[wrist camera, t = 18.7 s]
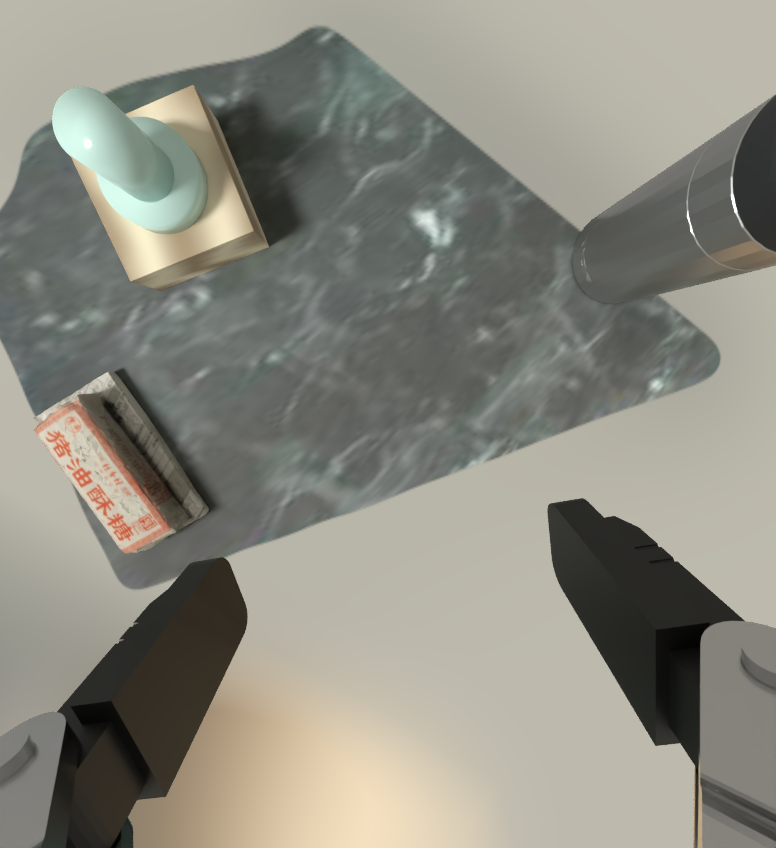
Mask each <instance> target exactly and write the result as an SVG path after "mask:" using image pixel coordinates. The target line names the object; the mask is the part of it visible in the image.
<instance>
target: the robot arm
mask: <svg viewBox="0 0 776 848" xmlns="http://www.w3.org/2000/svg"><path fill="white" fill-rule="evenodd" d="M775 265H776V95H774V96H773V97H771V98H770V99H768V100H767V101H765V102H764V103H762V104H761V105H759V106H758V107H757V108H755V109H754V110H752V111H751V112H749V113H748V114H746V115H745V116H743V117H742V118H740V119H739V120H737V121H736V122H735V123H733V124H731V125H730V126H729V127H727V128H726V129H725V130H723V131H722V132H720V133H719V134H717V135H716V136H714V137H713V138H711V139H710V140H708V141H707V142H705V143H704V144H703V145H701V146H700V147H698V148H697V149H695V150H694V151H692V152H691V153H689V154H688V155H686V156H685V157H683V158H682V159H680V160H679V161H677V162H676V163H675V164H673V165H672V166H670V167H669V168H667V169H666V170H664V171H663V172H661V173H660V174H658V175H657V176H655V177H654V178H652V179H651V180H649V181H648V182H647V183H645V184H643V185H642V186H641V187H639V188H638V189H636V190H635V191H633V192H632V193H630V194H629V195H627V196H626V197H624V198H623V199H621V200H620V201H618V202H617V203H615V204H614V205H612V206H611V207H610V208H608V209H607V210H605V211H604V212H602V213H601V214H599V215H598V216H597V217H595V218H594V219H592V220H591V221H590V222H589V223H588V224H587V225H586V226H585V227H584V229H583V230H582V232H581V233H580V235H579V236H578V239H577V241H576V244H575V246H574V251H573V271H574V276H575V278H576V280H577V282H578V285H579V286H580V287H581V289H582V290H583V291H584V292H585V293H586V294H587V295H588V296H589V297H590V298H592V299H594V300H596V301H598V302H602V303H606V304H619V303H624V302H629V301H633V300H637V299H641V298H645V297H650V296H654V295H658V294H662V293H666V292H670V291H674V290H678V289H682V288H686V287H691V286H694V285H699V284H703V283H707V282H711V281H715V280H719V279H723V278H727V277H731V276H735V275H739V274H743V273H748V272H752V271H755V270H760V269H762V268H767V267H771V266H775ZM548 522H549V533H550V543H551V554H552V562H553V567H554V571H555V574H556V577H557V580H558V582H559V584H560V586H561V588H562V590H563V592H564V593H565V595H566V597H567V598H568V600H569V602H570V603H571V605H572V606H573V608H574V610H575V612H576V613H577V615H578V617H579V618H580V620H581V622H582V623H583V625H584V627H585V628H586V630H587V632H588V633H589V635H590V637H591V639H592V640H593V642H594V643H595V645H596V647H597V649H598V650H599V652H600V654H601V655H602V657H603V658H604V660H605V662H606V664H607V665H608V667H609V669H610V670H611V672H612V674H613V675H614V677H615V678H616V680H617V682H618V684H619V685H620V687H621V689H622V690H623V692H624V694H625V695H626V697H627V699H628V700H629V702H630V704H631V706H632V707H633V708H634V711H635V712H636V714H637V716H638V717H639V719H640V721H641V722H642V724H643V726H644V727H645V729H646V731H647V732H648V734H649V735H650V737H651V739H652V741H653V742H654V744H655V745H656V746H658V745H667V744H676V743H681V745H682V746H683V748H684V749H685V751H686V752H687V754H688V756H689V757H690V759H691V760H692V762H693V763H694V765H695V776H694V777H695V779H694V848H776V628H772V627H769V626H766V625H762V624H757V623H753V622H745V621H744V620H743V619H742V618H741V617H740V616H738V615H737V614H736V613H735V612H734V611H733V610H732V609H731V608H730V607H728V606H727V605H726V604H725V603H724V602H723V601H722V600H720V599H719V598H718V597H717V596H716V595H715V594H714V593H713V592H711V591H710V590H709V589H708V588H707V587H706V586H705V585H703V584H702V583H701V582H700V581H699V580H698V579H697V578H695V577H694V576H693V575H692V574H691V573H690V572H689V571H688V570H686V569H685V568H684V567H683V566H682V565H681V564H680V563H679V562H675V561H674V559H673V557H672V556H671V555H670V554H668V553H667V552H666V551H665V550H664V549H663V548H662V547H658V545H657V543H656V542H655V541H654V540H653V539H651V538H650V537H649V536H648V535H647V534H646V533H644V532H643V531H642V530H641V529H640V528H639V527H637V526H635V525H632V524H630V523H628V522H626V521H624V520H622V519H620V518H618V517H616V516H612V517H606V518H604V517H603V516H602V515H601V514H600V513H599V512H598V511H596V509H595V508H594V507H593V506H592V505H591V504H589V502H588V501H586V500H585V499H583V498H581V499H575V500H569V501H563V502H558V503H551V504H549V505H548ZM246 626H247V608H246V605H245V602H244V599H243V597H242V594H241V592H240V589H239V586H238V584H237V581H236V579H235V576H234V573H233V571H232V569H231V566H230V564H229V562H228V561H227V560H226V559H225V558H216V559H210V560H204V561H198V562H193V563H191V564H189V565H188V566H187V567H186V569H185V570H184V571H183V572H182V573H181V575H180V576H179V577H178V578H177V579H176V581H175V582H174V583H173V584H172V585H171V587H170V588H169V589H168V590H166V591H165V592H164V593H163V594H161V595H160V596H159V597H158V598H157V599H155V600H154V601H153V602H151V603H150V604H149V605H148V607H147V608H146V609H145V610H144V611H143V612H142V613H141V615H140V616H139V617H138V618H137V619H136V621H135V622H134V625H133V627H130V628H129V629H128V630H127V631H126V632H125V633H124V634H123V636H122V637H121V638H120V639H119V643H118V644H115V645H114V646H113V647H112V648H111V650H110V651H109V652H108V653H107V654H106V655H105V657H104V658H103V659H102V660H101V661H100V662H99V664H98V665H97V666H96V667H95V668H94V670H93V671H92V672H91V673H90V674H89V675H88V676H87V678H86V679H85V680H84V681H83V682H82V684H81V685H80V686H79V687H78V688H77V689H76V690H75V692H74V693H73V694H72V695H71V696H70V698H69V699H68V700H67V701H66V702H65V703H64V704H63V706H62V707H61V708H60V709H59V710H58V711H57V712H49V713H44V714H41V715H38V716H36V717H33V718H31V719H29V720H27V721H25V722H23V723H21V724H19V725H18V726H16V727H14V728H13V729H11V730H10V731H8V732H7V733H5V734H4V735H2V736H1V737H0V848H133V826H132V824H131V822H130V820H129V818H128V815H129V814H130V812H131V810H132V808H133V806H134V804H135V802H136V801H137V800H139V799H148V798H158V797H166V795H167V793H168V791H169V789H170V787H171V785H172V782H173V781H174V779H175V777H176V774H177V772H178V770H179V768H180V766H181V764H182V762H183V759H184V758H185V756H186V753H187V751H188V750H189V747H190V745H191V743H192V741H193V739H194V737H195V735H196V733H197V731H198V729H199V727H200V724H201V722H202V720H203V718H204V716H205V714H206V712H207V710H208V708H209V706H210V704H211V702H212V700H213V698H214V696H215V693H216V691H217V689H218V687H219V685H220V683H221V681H222V679H223V677H224V675H225V672H226V670H227V668H228V666H229V664H230V662H231V660H232V658H233V656H234V654H235V652H236V650H237V648H238V646H239V644H240V641H241V639H242V637H243V635H244V633H245V630H246Z"/></svg>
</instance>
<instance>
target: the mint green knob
mask: <svg viewBox="0 0 776 848" xmlns="http://www.w3.org/2000/svg"><path fill="white" fill-rule="evenodd" d="M52 122H53V129H54V133H55V136H56V138H57V140H58V142H59V144H60V145H61V146H62V148H63V149H64V150H65V151H66V152H67V153H68V154H69V155H70V156H71V157H73V158H74V159H76V160H77V161H79V162H81V163H82V164H84V165H85V166H87V167H88V168H90V169H91V170H93V171H94V172H96V175H97V180H98V183H99V186H100V189H101V191H102V193H103V195H104V197H105V198H106V200H107V201H108V203H109V204H110V205H111V206H112V207H113V209H114V210H115V211H117V212H118V213H119V214H120V215H121V216H123V217H124V218H126V219H127V220H129V221H131V222H133V223H135V224H137V225H138V226H140V227H142V228H144V229H146V230H148V231H151V232H153V233H158V234H175V233H179V232H182V231H184V230H186V229H188V228H189V227H191V226H192V225H193V224H194V223H195V222H196V221H197V220H198V219H199V218H200V216H201V215H202V213H203V211H204V209H205V206H206V203H207V199H208V180H207V176H206V172H205V169H204V167H203V164H202V162H201V160H200V159H199V157H198V156H197V154H196V153H195V152H194V151H193V150H192V148H191V147H190V146H189V145H188V144H187V143H186V142H185V141H184V139H183V138H182V137H181V136H180V135H179V134H178V133H177V132H176V131H175V130H174V129H172V128H171V127H170V126H168V125H167V124H165V123H163V122H161V121H159V120H156V119H153V118H149V117H131V118H128V117H127V116H126V115H125V114H124V113H123V112H122V111H121V110H120V109H119V108H118V107H117V106H116V105H115V104H114V103H113V102H112V101H111V100H110V99H109V98H108V97H106V96H105V95H104V94H103V93H101V92H99V91H97V90H95V89H93V88H89V87H76V88H72V89H70V90H68V91H66V92H65V93H63V94H62V95H61V96H60V98H59V99H58V100H57V102H56V104H55V107H54V110H53V117H52Z"/></svg>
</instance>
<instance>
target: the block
mask: <svg viewBox="0 0 776 848" xmlns="http://www.w3.org/2000/svg"><path fill="white" fill-rule="evenodd" d="M125 115H126V116H127V117H128V118H131V117H149V118H153V119H156V120H159V121H161V122H163V123H165V124H167V125H168V126H170V127H171V128H172V129H174V130H175V131H176V132H177V133H178V134H179V135H180V136H181V137H182V138H183V139H184V141H185V142H186V143H187V144H188V145H189V146H190V147H191V148H192V150H193V151H194V152H195V153H196V154H197V156H198V157H199V159H200V160H201V162H202V164H203V167H204V169H205V172H206V176H207V180H208V199H207V203H206V206H205V209H204V211H203V213H202V215H201V216H200V218H199V219H198V220H197V221H196V222H195V223H194V224H193V225H192V226H191V227H189V228H188V229H186V230H184V231H182V232H179V233H175V234H158V233H153V232H151V231H148V230H146V229H144V228H142V227H140V226H138V225H137V224H135V223H133V222H131V221H129V220H127V219H126V218H124V217H123V216H121V215H120V214H119V213H118V212H117V211H115V210H114V209H113V207H112V206H111V205H110V204H109V203H108V201H107V200H106V198H105V197H104V195H103V193H102V191H101V189H100V186H99V183H98V180H97V175H96V172H94V171H93V170H91V169H90V168H88V167H87V166H85V165H84V164H82V163H81V162H79V161H77V160H76V159H74V158H73V157H71V158H72V160H73V162H74V164H75V166H76V168H77V170H78V172H79V174H80V177H81V179H82V181H83V183H84V185H85V187H86V189H87V191H88V193H89V195H90V197H91V199H92V202H93V204H94V206H95V208H96V210H97V212H98V214H99V216H100V218H101V220H102V222H103V224H104V227H105V229H106V231H107V233H108V235H109V237H110V239H111V241H112V243H113V245H114V247H115V249H116V252H117V254H118V256H119V258H120V260H121V262H122V264H123V266H124V268H125V270H126V272H127V274H128V277H129V279H130V281H131V282H134V283H138V284H141V285H144V286H147V287H150V288H153V289H156V290H159V291H162V290H164V289H167V288H169V287H172V286H174V285H177V284H179V283H182V282H184V281H186V280H189V279H191V278H194V277H196V276H199V275H201V274H204V273H206V272H209V271H211V270H213V269H216V268H218V267H221V266H223V265H226V264H228V263H231V262H233V261H236V260H238V259H241V258H243V257H245V256H248V255H250V254H253V253H255V252H258V251H260V250H263V249H265V248H268V247H269V245H268V242H267V240H266V238H265V235H264V233H263V230H262V228H261V225H260V223H259V220H258V218H257V216H256V213H255V211H254V208H253V206H252V203H251V201H250V198H249V196H248V194H247V191H246V189H245V186H244V184H243V181H242V179H241V176H240V174H239V172H238V169H237V167H236V164H235V162H234V159H233V157H232V154H231V152H230V150H229V147H228V145H227V142H226V140H225V137H224V135H223V132H222V130H221V128H220V125H219V123H218V120H217V119H216V117H215V116H214V115H213V113H212V112H211V110H210V109H209V107H208V106H207V104H206V103H205V101H204V100H203V98H202V97H201V95H200V94H199V92H198V91H197V89H196V88H195V87H194V85H192V86H189V87H187V88H185V89H183V90H180V91H178V92H176V93H173V94H171V95H169V96H166V97H164V98H162V99H159V100H157V101H155V102H152V103H150V104H148V105H145V106H143V107H141V108H139V109H136V110H134V111H132V112H129V113H127V114H125Z"/></svg>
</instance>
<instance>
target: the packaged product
mask: <svg viewBox="0 0 776 848" xmlns="http://www.w3.org/2000/svg"><path fill="white" fill-rule="evenodd" d="M34 419H35V420H36V421H37V422H38V423H39V424H38V425H37V427H36V428H35V429H34V430H35V432H36V434H37V435H38V437H39V438H40V439H41V441H42V443H43V444H44V445H45V447H46V448H47V449H48V451H49V452H50V454H51V455H52V456H53V458H54V459H55V460H56V462H57V463H58V465H59V466H60V467H61V469H62V470H63V471H64V472H65V474H66V475H67V476H68V478H69V479H70V481H71V482H72V483H73V485H74V486H75V487H76V489H77V490H78V491H79V493H80V494H81V495H82V497H83V498H84V500H85V501H86V502H87V504H88V505H89V507H90V508H91V509H92V510H93V512H94V513H95V515H96V516H97V517H98V519H99V520H100V521H101V523H102V524H103V526H104V527H105V528H106V529H107V531H108V533H109V534H110V535H111V537H112V538H113V540H114V541H115V542H116V544H117V546H119V548H120V549H121V550H122V551H123V552H124V553H131V552H135V553H137V552H139V551H145V550H149V549H150V548H152V547H153V546H155V545H157V544H158V543H160V542H162V541H163V540H165V539H166V537H167V536H169V535H171V534H174V533H176V532H177V531H178V530H180V529H181V528H183V527H184V526H186V525H188V524H190V523H191V522H193V521H195V520H197V519H199V518H200V517H202V516H204V515H206V514H207V512H208V511H209V509H208V507H207V505H206V504H205V502H204V501H203V500H202V498H201V497H200V495H199V494H198V492H197V491H196V490H195V488H194V487H193V485H192V483H191V482H190V480H189V479H188V477H187V475H186V474H185V472H184V470H183V469H182V467H181V466H180V464H179V463H178V461H177V460H176V458H175V457H174V455H173V454H172V452H171V451H170V449H169V448H168V446H167V445H166V443H165V441H164V440H163V438H162V437H161V435H160V434H159V432H158V431H157V429H156V428H155V427H154V425H153V424H152V422H151V421H150V419H149V418H148V416H147V415H146V413H145V412H144V411H143V409H142V408H141V407H140V405H139V404H138V402H137V401H136V400H135V398H134V397H133V396H132V394H131V393H130V391H129V390H128V389H127V387H126V386H125V384H124V383H123V382H122V380H121V379H120V378H119V377H118V375H117V374H116V373H112V372H107V373H105V374H103V375H102V376H100V377H98V378H97V379H95V380H94V381H92V382H91V383H89V384H87V385H85V386H84V387H82V388H81V389H79V390H78V391H77V392H75V393H74V394H72V395H70V396H69V397H67V398H65V399H64V400H62V401H60V402H59V403H57V404H55V405H54V406H52V407H50V408H49V409H47V410H46V411H44V412H43V413H42V414H40V415H38V416H37V417H35V418H34Z"/></svg>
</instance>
